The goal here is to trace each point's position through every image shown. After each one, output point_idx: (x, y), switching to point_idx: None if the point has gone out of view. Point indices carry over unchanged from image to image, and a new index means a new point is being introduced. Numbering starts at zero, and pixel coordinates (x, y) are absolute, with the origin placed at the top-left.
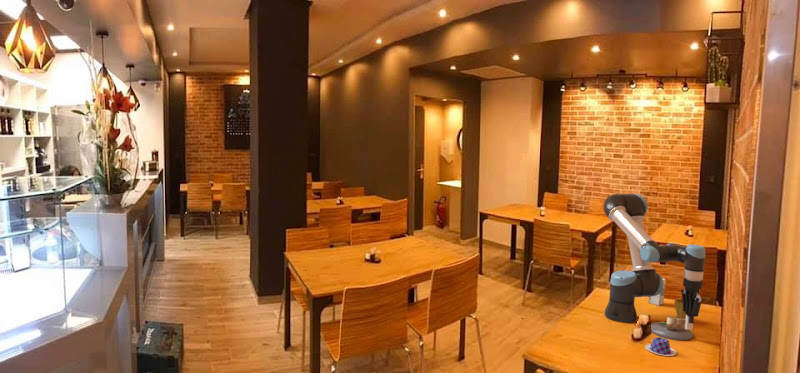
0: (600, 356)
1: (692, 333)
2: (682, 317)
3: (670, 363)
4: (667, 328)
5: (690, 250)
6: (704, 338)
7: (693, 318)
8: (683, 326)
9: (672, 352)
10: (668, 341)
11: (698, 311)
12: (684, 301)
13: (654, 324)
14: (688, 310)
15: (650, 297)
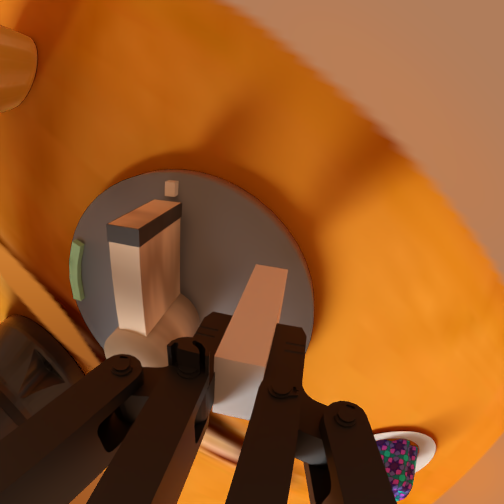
0: None
1: (243, 203)
2: (8, 101)
3: (459, 466)
4: None
5: None
6: (290, 120)
7: (301, 376)
8: (170, 249)
9: (413, 438)
10: (404, 485)
11: (386, 490)
12: (63, 500)
13: (106, 338)
14: (193, 444)
15: None
